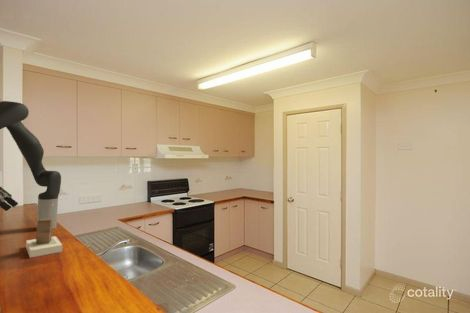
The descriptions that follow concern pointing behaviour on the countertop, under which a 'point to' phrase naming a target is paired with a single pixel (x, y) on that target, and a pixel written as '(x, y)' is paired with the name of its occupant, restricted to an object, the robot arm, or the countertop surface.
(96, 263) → the countertop surface
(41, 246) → the plinth
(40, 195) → the robot arm
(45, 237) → the walnut block
